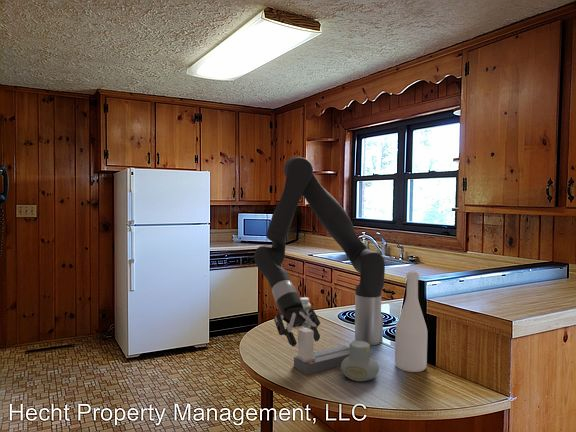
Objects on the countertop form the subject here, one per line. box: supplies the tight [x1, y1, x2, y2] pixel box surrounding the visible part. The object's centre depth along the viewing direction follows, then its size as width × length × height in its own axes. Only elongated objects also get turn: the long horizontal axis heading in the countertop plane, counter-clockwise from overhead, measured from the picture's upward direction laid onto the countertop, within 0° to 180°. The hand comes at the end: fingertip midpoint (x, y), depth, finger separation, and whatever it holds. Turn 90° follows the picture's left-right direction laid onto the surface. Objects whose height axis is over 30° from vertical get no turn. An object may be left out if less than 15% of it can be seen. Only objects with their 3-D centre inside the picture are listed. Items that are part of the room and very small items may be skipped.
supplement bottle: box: [299, 296, 312, 323], centre depth 181 cm, size 5×5×10 cm
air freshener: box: [340, 340, 380, 383], centre depth 127 cm, size 11×8×10 cm
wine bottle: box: [394, 270, 428, 373], centre depth 134 cm, size 10×10×30 cm
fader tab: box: [295, 327, 316, 363], centre depth 133 cm, size 4×5×9 cm
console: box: [293, 344, 350, 376], centre depth 137 cm, size 20×7×3 cm, turn 122°
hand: (306, 342), depth 132 cm, fingers open, 8 cm apart
